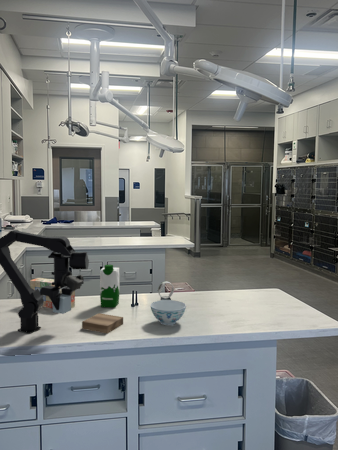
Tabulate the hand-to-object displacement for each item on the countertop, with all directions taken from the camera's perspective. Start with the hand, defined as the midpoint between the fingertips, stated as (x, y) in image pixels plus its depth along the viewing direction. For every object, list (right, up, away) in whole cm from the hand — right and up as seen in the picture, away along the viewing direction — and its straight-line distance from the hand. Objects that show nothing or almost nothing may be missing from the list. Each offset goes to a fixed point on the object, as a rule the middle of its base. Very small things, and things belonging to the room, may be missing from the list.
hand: (62, 308), depth 159 cm
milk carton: (+14, -6, +35) cm, 38 cm away
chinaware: (+42, -9, +12) cm, 44 cm away
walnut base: (+15, -9, +6) cm, 19 cm away
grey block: (0, -1, 0) cm, 1 cm away
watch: (+41, -6, +39) cm, 56 cm away
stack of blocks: (-13, -6, +33) cm, 36 cm away
